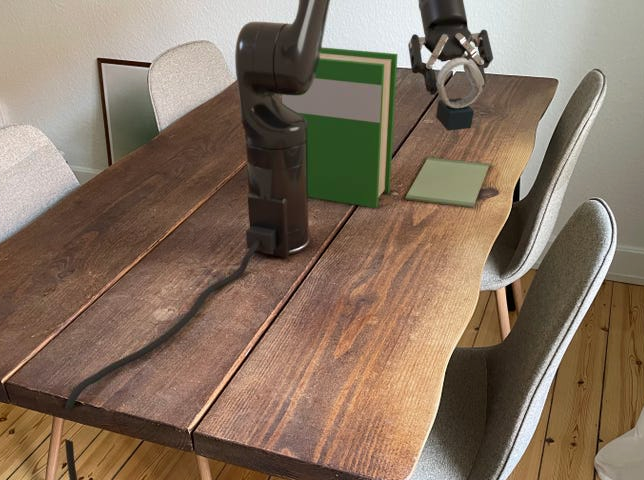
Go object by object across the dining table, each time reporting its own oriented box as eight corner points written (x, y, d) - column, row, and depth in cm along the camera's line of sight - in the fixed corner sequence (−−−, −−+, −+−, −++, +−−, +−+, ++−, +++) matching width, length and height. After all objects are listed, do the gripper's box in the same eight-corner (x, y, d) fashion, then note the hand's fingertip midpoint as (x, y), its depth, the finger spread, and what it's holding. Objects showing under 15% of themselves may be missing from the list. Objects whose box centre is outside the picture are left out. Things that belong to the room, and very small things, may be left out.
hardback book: (389, 191, 137) (397, 54, 123) (375, 207, 132) (382, 65, 118) (301, 178, 144) (299, 45, 130) (285, 192, 138) (280, 56, 124)
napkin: (472, 207, 131) (473, 205, 131) (404, 199, 134) (405, 197, 134) (489, 165, 146) (489, 163, 146) (427, 159, 150) (427, 157, 149)
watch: (481, 126, 132) (492, 64, 125) (438, 131, 131) (447, 68, 124) (468, 113, 136) (478, 51, 129) (426, 118, 135) (434, 55, 128)
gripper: (407, -6, 129) (423, 82, 126) (487, -11, 130) (504, 76, 128) (397, 20, 136) (412, 104, 134) (472, 15, 138) (488, 98, 135)
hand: (457, 90), depth 131 cm, fingers closed on watch, 8 cm apart
